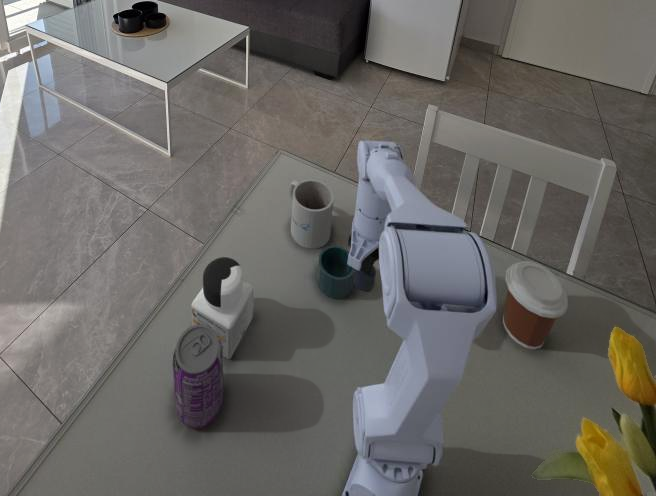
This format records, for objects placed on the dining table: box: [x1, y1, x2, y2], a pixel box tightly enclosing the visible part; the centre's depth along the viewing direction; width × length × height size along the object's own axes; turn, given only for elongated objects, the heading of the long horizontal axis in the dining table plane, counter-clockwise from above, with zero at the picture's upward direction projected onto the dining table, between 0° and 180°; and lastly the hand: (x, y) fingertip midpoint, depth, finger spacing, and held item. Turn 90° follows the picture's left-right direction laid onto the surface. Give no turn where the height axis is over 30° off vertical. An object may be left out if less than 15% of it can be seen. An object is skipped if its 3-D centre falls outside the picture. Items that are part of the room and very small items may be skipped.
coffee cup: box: [502, 260, 569, 350], centre depth 74 cm, size 9×9×12 cm
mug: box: [289, 179, 335, 250], centre depth 93 cm, size 12×9×10 cm
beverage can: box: [172, 324, 224, 430], centre depth 63 cm, size 7×7×12 cm
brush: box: [354, 265, 377, 293], centre depth 75 cm, size 4×4×9 cm
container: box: [191, 256, 254, 360], centre depth 72 cm, size 8×8×13 cm
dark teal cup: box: [316, 245, 355, 300], centre depth 82 cm, size 7×7×5 cm
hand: (365, 266), depth 75 cm, fingers closed on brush
